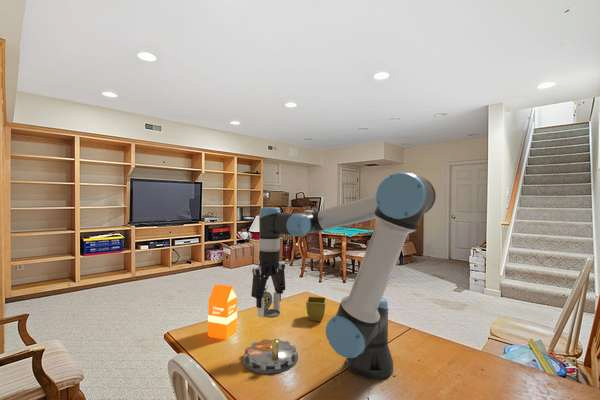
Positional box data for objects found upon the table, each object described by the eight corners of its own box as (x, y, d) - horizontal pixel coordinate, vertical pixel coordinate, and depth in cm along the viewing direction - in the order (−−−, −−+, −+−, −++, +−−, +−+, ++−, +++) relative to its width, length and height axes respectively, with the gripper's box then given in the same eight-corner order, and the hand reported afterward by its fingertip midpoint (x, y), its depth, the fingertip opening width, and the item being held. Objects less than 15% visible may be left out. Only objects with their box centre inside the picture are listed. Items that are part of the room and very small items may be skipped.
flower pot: (307, 314, 139) (308, 296, 139) (325, 315, 138) (326, 297, 138) (305, 322, 130) (305, 302, 130) (325, 323, 129) (325, 303, 129)
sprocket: (287, 339, 111) (287, 320, 111) (304, 364, 94) (304, 340, 94) (240, 347, 105) (240, 326, 105) (249, 375, 88) (249, 350, 88)
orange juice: (226, 340, 112) (227, 288, 113) (207, 336, 115) (208, 286, 116) (237, 331, 120) (237, 283, 120) (219, 328, 123) (219, 281, 123)
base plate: (309, 357, 100) (309, 356, 100) (266, 382, 86) (266, 380, 86) (273, 339, 113) (273, 338, 113) (231, 358, 99) (231, 356, 99)
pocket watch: (277, 319, 99) (277, 290, 99) (254, 317, 100) (254, 289, 100) (283, 310, 107) (283, 284, 107) (261, 309, 108) (261, 282, 109)
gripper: (282, 246, 114) (281, 304, 113) (240, 251, 99) (240, 318, 99) (295, 248, 108) (295, 309, 108) (253, 254, 94) (253, 324, 94)
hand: (268, 313), depth 104 cm, fingers closed on pocket watch, 7 cm apart
